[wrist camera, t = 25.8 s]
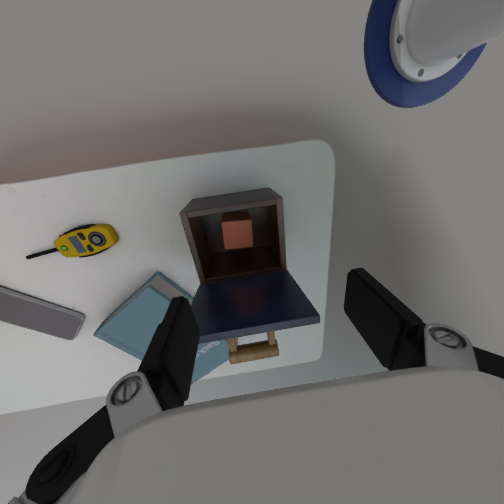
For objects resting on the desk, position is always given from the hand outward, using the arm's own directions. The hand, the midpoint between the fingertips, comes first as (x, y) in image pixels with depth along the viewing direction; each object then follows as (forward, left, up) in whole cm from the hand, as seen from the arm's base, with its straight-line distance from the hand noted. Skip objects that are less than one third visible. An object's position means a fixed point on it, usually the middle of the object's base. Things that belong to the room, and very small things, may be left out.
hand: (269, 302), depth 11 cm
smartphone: (+44, +2, -24) cm, 50 cm away
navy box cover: (+3, +6, -9) cm, 11 cm away
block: (+2, +2, -23) cm, 23 cm away
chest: (+2, +2, -24) cm, 24 cm away
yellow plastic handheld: (+28, -6, -24) cm, 38 cm away
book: (+24, +17, -24) cm, 38 cm away
